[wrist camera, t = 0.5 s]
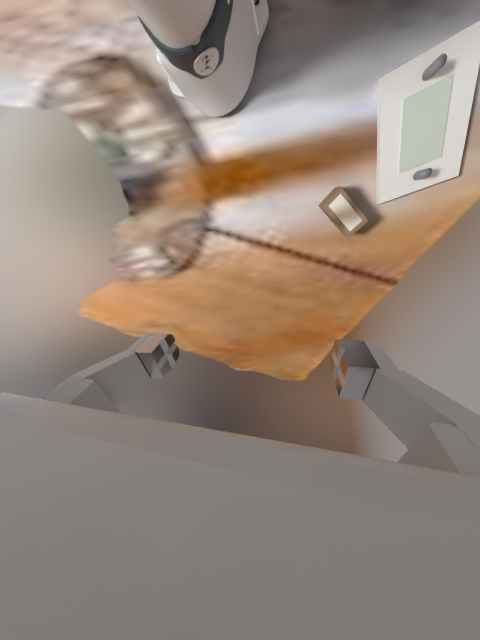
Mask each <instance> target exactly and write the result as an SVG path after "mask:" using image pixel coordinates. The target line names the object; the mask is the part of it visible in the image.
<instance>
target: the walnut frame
mask: <svg viewBox="0 0 480 640" xmlns="http://www.w3.org/2000/svg"><path fill="white" fill-rule="evenodd" d="M318 206H319V207H320V208H321V209H322V210H323V212H324V213H325V214H326V215H327V216H328V217H329V219H330V220H331V221H332V222H333V223H334V224H335V225H336V227H337V228H338V229H339V230H340V231H341V232H342V234H343V235H345V236H347V237H351V236H352V235H353V234H354V233H356V232H357V231H358V230H359V229H360V228H361V227H363V226H364V225H365V224H366V223H367V222H368V219H367V218H366V217H365V216H364V214H363V213H362V212H361V211H360V209H359V208H358V207H357V206H356V204H355V203H354V202H353V201H352V199H351V198H350V197H349V196H348V194H347V193H346V192H345V191H344V190H343V188H342V187H341V186H339V187H336V188H334V189H333V190H332V191H331V193H330V194H329V195H328V196H327V197H326V198H325V199H324V200H323V201H322V202H321V203H320V204H319V205H318Z"/></svg>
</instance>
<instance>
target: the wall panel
mask: <svg viewBox="0 0 480 640" xmlns="http://www.w3.org/2000/svg"><path fill="white" fill-rule="evenodd" d="M479 65H480V20H479V21H478V22H476V23H474V24H472V25H471V26H469V27H467V28H465V29H464V30H462V31H460V32H459V33H457V34H455V35H453V36H452V37H450V38H448V39H446V40H445V41H443V42H441V43H439V44H438V45H436V46H434V47H433V48H431V49H429V50H427V51H426V52H424V53H422V54H420V55H419V56H417V57H415V58H413V59H412V60H410V61H408V62H406V63H405V64H403V65H401V66H400V67H398V68H396V69H394V70H393V71H391V72H389V73H387V74H386V75H384V76H382V77H381V78H380V79H379V81H378V112H377V204H381V203H383V202H386V201H389V200H392V199H395V198H397V197H400V196H403V195H406V194H409V193H411V192H414V191H417V190H420V189H423V188H425V187H428V186H431V185H434V184H437V183H439V182H442V181H445V180H448V179H451V178H453V177H456V176H459V170H460V165H461V160H462V155H463V149H464V144H465V139H466V134H467V128H468V123H469V118H470V112H471V107H472V102H473V97H474V91H475V86H476V81H477V76H478V70H479Z"/></svg>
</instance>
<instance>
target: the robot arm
mask: <svg viewBox="0 0 480 640" xmlns="http://www.w3.org/2000/svg"><path fill="white" fill-rule="evenodd" d="M126 1H127V3H128V4H129V5H130V6H131V7H132V9H133V10H134V11H135V12H136V14H137V15H138V17H139V19H140V21H141V23H142V25H143V27H144V29H145V30H146V32H147V34H148V36H149V37H150V39H151V40H152V42H153V43H154V45H155V47H156V51H157V59H158V61H159V63H160V65H161V66H162V67H163V69H164V70H165V72H166V73H167V76H168V80H169V84H170V88H171V90H172V92H173V93H174V95H175V96H176V97H177V98H179V99H183V100H187V101H189V102H191V103H192V104H193V105H194V106H195V107H196V108H197V109H198V110H199V111H201V112H202V113H204V114H206V115H209V116H214V117H218V116H223V115H225V114H227V113H229V112H231V111H232V110H233V109H234V108H235V107H236V106H237V105H238V104H239V103H240V102H241V100H242V99H243V97H244V95H245V93H246V92H247V89H248V87H249V85H250V82H251V79H252V76H253V72H254V67H255V61H256V55H257V50H258V46H259V43H260V40H261V38H262V36H263V33H264V31H265V28H266V26H267V22H268V18H269V9H268V4H267V0H259V4H258V6H255V2H256V1H257V0H126ZM174 342H175V338H174V336H173V335H171V334H161V333H146V334H144V335H143V336H142V337H141V338H139V339H138V340H137V341H136V342H135V343H134V344H133V345H132V346H131V347H130V348H128V349H127V350H126V351H125V352H121V353H119V354H116V355H114V356H112V357H110V358H108V359H106V360H104V361H102V362H99V363H97V364H95V365H93V366H91V367H89V368H86V369H84V370H82V371H80V372H78V373H76V374H74V375H71V376H70V377H69V378H67V379H66V380H65V381H63V382H62V383H61V384H60V385H58V386H57V387H56V388H55V389H53V390H52V391H51V392H49V393H48V394H47V395H46V396H44V397H43V398H42V399H37V398H31V397H26V396H20V395H15V394H9V393H4V392H0V640H480V416H479V415H477V414H475V413H474V412H472V411H470V410H469V409H467V408H465V407H464V406H462V405H460V404H459V403H457V402H455V401H453V400H452V399H450V398H449V397H447V396H445V395H444V394H442V393H440V392H438V391H437V390H435V389H433V388H432V387H430V386H428V385H427V384H425V383H423V382H422V381H420V380H418V379H417V378H415V377H413V376H411V375H410V374H408V373H406V372H405V371H399V370H398V369H397V367H396V366H395V364H394V363H393V362H392V360H391V359H390V358H389V356H388V355H387V353H386V352H385V350H384V349H383V348H382V346H381V345H380V343H379V342H378V341H376V340H362V341H360V340H335V342H334V345H333V348H334V351H335V352H334V353H333V354H331V371H332V375H333V376H334V377H335V378H336V381H335V386H336V389H337V392H338V396H339V397H340V398H347V399H355V400H362V401H363V403H364V404H365V405H366V406H367V407H368V408H369V409H370V410H371V411H372V412H373V413H374V414H375V415H376V416H377V417H378V418H379V419H380V420H381V421H382V422H383V423H384V424H385V425H386V427H388V429H389V430H390V431H391V432H392V433H393V434H394V435H395V436H396V437H397V438H398V439H399V440H400V441H401V442H402V443H403V444H404V445H405V446H406V447H407V448H408V450H407V452H406V453H405V454H404V455H403V456H402V457H401V458H400V460H399V461H398V462H393V461H387V460H381V459H376V458H370V457H364V456H358V455H353V454H347V453H342V452H336V451H330V450H325V449H319V448H314V447H308V446H302V445H297V444H291V443H285V442H280V441H274V440H268V439H263V438H257V437H252V436H246V435H241V434H235V433H229V432H224V431H218V430H212V429H206V428H201V427H196V426H190V425H184V424H179V423H173V422H167V421H162V420H156V419H150V418H145V417H139V416H133V415H128V414H122V413H119V409H118V408H117V407H116V406H115V405H116V404H117V403H119V402H120V401H121V400H122V399H124V398H125V397H127V396H128V395H129V394H131V393H132V392H133V391H135V390H136V389H137V388H139V387H140V386H141V385H143V384H144V383H145V382H147V381H148V380H149V379H150V378H162V379H164V378H165V377H166V376H167V374H168V373H169V371H170V370H171V365H173V364H174V363H176V361H177V360H178V358H179V353H180V352H179V348H178V346H177V345H176V344H175V343H174Z"/></svg>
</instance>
